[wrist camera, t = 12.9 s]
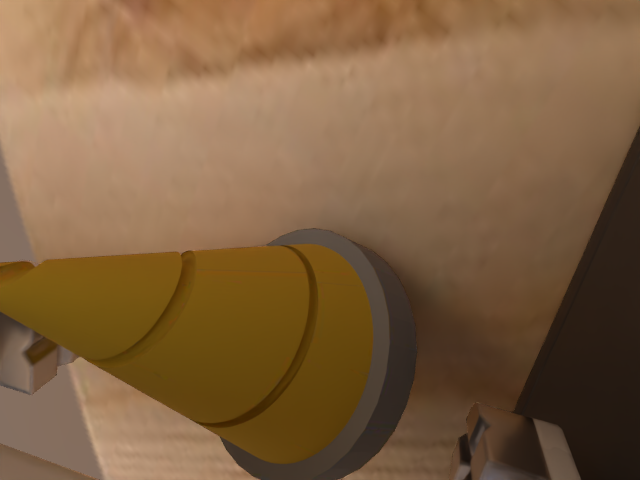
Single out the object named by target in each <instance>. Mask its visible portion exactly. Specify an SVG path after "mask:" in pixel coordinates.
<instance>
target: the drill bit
mask: <svg viewBox="0 0 640 480" xmlns="http://www.w3.org/2000/svg"><path fill="white" fill-rule="evenodd" d="M0 312H2V313H4V314H6V315H7V316H9V317H11V318H13V319H14V320H16V321H18V322H20V323H21V324H23V325H25V326H27V327H28V328H30V329H32V330H34V331H35V332H37V333H39V334H41V335H42V336H44V337H46V338H48V339H50V340H51V341H53V342H55V343H57V344H58V345H60V346H62V347H64V348H65V349H67V350H69V351H71V352H72V353H74V354H76V355H78V356H80V357H82V358H84V359H86V360H87V361H88V362H90V363H92V364H94V365H95V366H97V367H99V368H101V369H102V370H104V371H106V372H108V373H109V374H111V375H113V376H115V377H116V378H118V379H120V380H122V381H123V382H125V383H127V384H129V385H130V386H132V387H134V388H136V389H138V390H139V391H141V392H143V393H145V394H146V395H148V396H150V397H152V398H153V399H155V400H157V401H159V402H160V403H162V404H164V405H166V406H167V407H169V408H171V409H173V410H174V411H176V412H178V413H180V414H182V415H183V416H185V417H187V418H189V419H191V420H192V421H194V422H196V423H197V424H199V425H201V426H203V427H204V428H206V429H208V430H210V431H211V432H213V433H215V434H217V435H219V436H220V438H221V440H222V442H223V444H224V446H225V448H226V450H227V451H228V452H229V454H230V455H231V456H232V458H233V459H234V460H235V461H236V463H237V464H238V465H239V466H240V467H242V468H243V469H244V470H246V471H247V472H248V473H249V474H251V475H252V476H253V477H256V478H258V479H261V480H336V479H341V478H343V477H345V476H347V475H349V474H350V473H352V472H354V471H356V470H358V469H360V468H361V467H363V466H364V465H365V464H366V463H367V462H368V461H369V460H370V459H372V458H373V457H374V456H375V455H376V454H377V453H378V452H379V451H380V450H381V448H382V447H383V446H384V444H385V443H386V442H387V440H388V439H389V438H390V436H391V435H392V434H393V432H394V431H395V429H396V427H397V424H398V422H399V420H400V418H401V416H402V414H403V412H404V410H405V408H406V405H407V402H408V398H409V395H410V391H411V388H412V384H413V381H414V374H415V364H416V355H417V346H416V330H415V322H414V318H413V314H412V310H411V306H410V302H409V299H408V297H407V295H406V292H405V290H404V288H403V286H402V284H401V282H400V280H399V278H398V277H397V276H396V274H395V273H394V272H393V270H392V269H391V268H390V266H389V265H388V264H387V263H386V262H385V261H384V260H383V259H381V258H380V257H379V256H378V255H377V254H375V253H374V252H373V251H371V250H369V249H367V248H365V247H363V246H361V245H359V244H357V243H355V242H353V241H351V240H349V239H347V238H345V237H343V236H340V235H338V234H336V233H334V232H332V231H327V230H321V229H315V228H313V229H304V230H297V231H294V232H291V233H288V234H286V235H283V236H281V237H279V238H277V239H276V240H274V241H272V242H271V243H269V244H267V245H266V246H263V247H246V248H230V249H214V250H198V251H186V252H184V253H182V254H181V255H180V253H179V252H165V253H149V254H132V255H116V256H100V257H84V258H67V259H51V260H46V261H44V262H42V263H40V264H39V265H38V266H36V267H35V266H34V265H33V264H32V263H30V262H27V261H19V262H3V263H0Z"/></svg>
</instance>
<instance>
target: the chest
mask: <svg viewBox="0 0 640 480" xmlns="http://www.w3.org/2000/svg"><path fill="white" fill-rule="evenodd" d="M513 413H515V414H519V415H522V416H526V417H529V418H534V419H537V420H541V421H545V422H548V423H552V424H556V425H558V426H559V427H560V428H561V429H562V430H563V433H564V436H565V438H566V441H567V443H568V446H569V449H570V451H571V454H572V457H573V459H574V462H575V464H576V467H577V470H578V472H579V475H580V477H581V480H640V128H639V130H638V132H637V134H636V137H635V139H634V141H633V143H632V146H631V148H630V150H629V152H628V155H627V157H626V159H625V161H624V164H623V166H622V168H621V170H620V173H619V175H618V177H617V179H616V182H615V184H614V186H613V188H612V191H611V193H610V195H609V197H608V200H607V202H606V204H605V206H604V209H603V211H602V213H601V215H600V218H599V220H598V222H597V224H596V227H595V229H594V231H593V234H592V236H591V238H590V240H589V243H588V245H587V247H586V249H585V252H584V254H583V256H582V258H581V261H580V263H579V265H578V267H577V270H576V272H575V274H574V276H573V279H572V281H571V283H570V285H569V288H568V290H567V292H566V294H565V297H564V299H563V301H562V303H561V306H560V308H559V310H558V312H557V315H556V317H555V319H554V321H553V324H552V326H551V328H550V330H549V333H548V335H547V337H546V339H545V342H544V344H543V346H542V348H541V351H540V353H539V355H538V357H537V360H536V362H535V364H534V366H533V369H532V371H531V373H530V375H529V378H528V380H527V382H526V384H525V387H524V389H523V391H522V393H521V396H520V398H519V400H518V402H517V405H516V407H515V409H514V411H513Z"/></svg>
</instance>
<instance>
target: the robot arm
mask: <svg viewBox="0 0 640 480" xmlns="http://www.w3.org/2000/svg"><path fill="white" fill-rule="evenodd" d="M19 261H27V260H19ZM19 261H17V262H19ZM27 262H30V263H32V264H33V265H34V266H35V267H36V266H38V265H39V263H35V262H32V261H27ZM78 357H79V356H78V355H76V354H74V353H72V352H71V351H69V350H67V349H65V348H64V347H62V346H60V345H58V344H57V343H55V342H53V341H51V340H50V339H48V338H46V337H44V336H42V335H41V334H39V333H37V332H35V331H34V330H32V329H30V328H28V327H27V326H25V325H23V324H21V323H20V322H18V321H16V320H14V319H13V318H11V317H9V316H7V315H6V314H4V313H2V312H0V385H1V386H4V387H7V388H10V389H13V390H17V391H20V392H23V393H26V394H29V395H32V394H34V393H35V392H36V391H37V390H39V389H40V388H41V387H42V386H43V385H45V384H46V383H47V382H49V381H50V380H51V379H52V378H54V377H55V376H56V375H57V367H58V366H61V365H65V364H68V363H72V362H74V361H75V360H76V359H77V358H78ZM466 423H467V433H466V434H464V435H463V436H461V437H459V438H458V441H457V443H456V446H455V449H454V451H453V456H452V460H451V464H450V473H449V480H581V477H580V475H579V472H578V470H577V467H576V464H575V462H574V459H573V457H572V454H571V451H570V449H569V446H568V443H567V441H566V438H565V436H564V433H563V430H562V429H561V428H560V427H559V426H558V425H556V424H552V423H548V422H545V421H541V420H537V419H534V418H529V417H526V416H522V415H519V414H515V413H512V412H508V411H505V410H501V409H498V408H494V407H491V406H488V405H484V404H481V403H477V402H475V403H474V404H473V406H472V407H471V409H470V411H469V413H468V416H467V418H466ZM0 480H99V479H96V478H93V477H90V476H88V475H85V474H82V473H79V472H77V471H74V470H71V469H69V468H66V467H63V466H60V465H58V464H55V463H52V462H49V461H47V460H44V459H41V458H39V457H36V456H33V455H30V454H28V453H25V452H22V451H20V450H17V449H14V448H11V447H8V446H6V445H3V444H0Z"/></svg>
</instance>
